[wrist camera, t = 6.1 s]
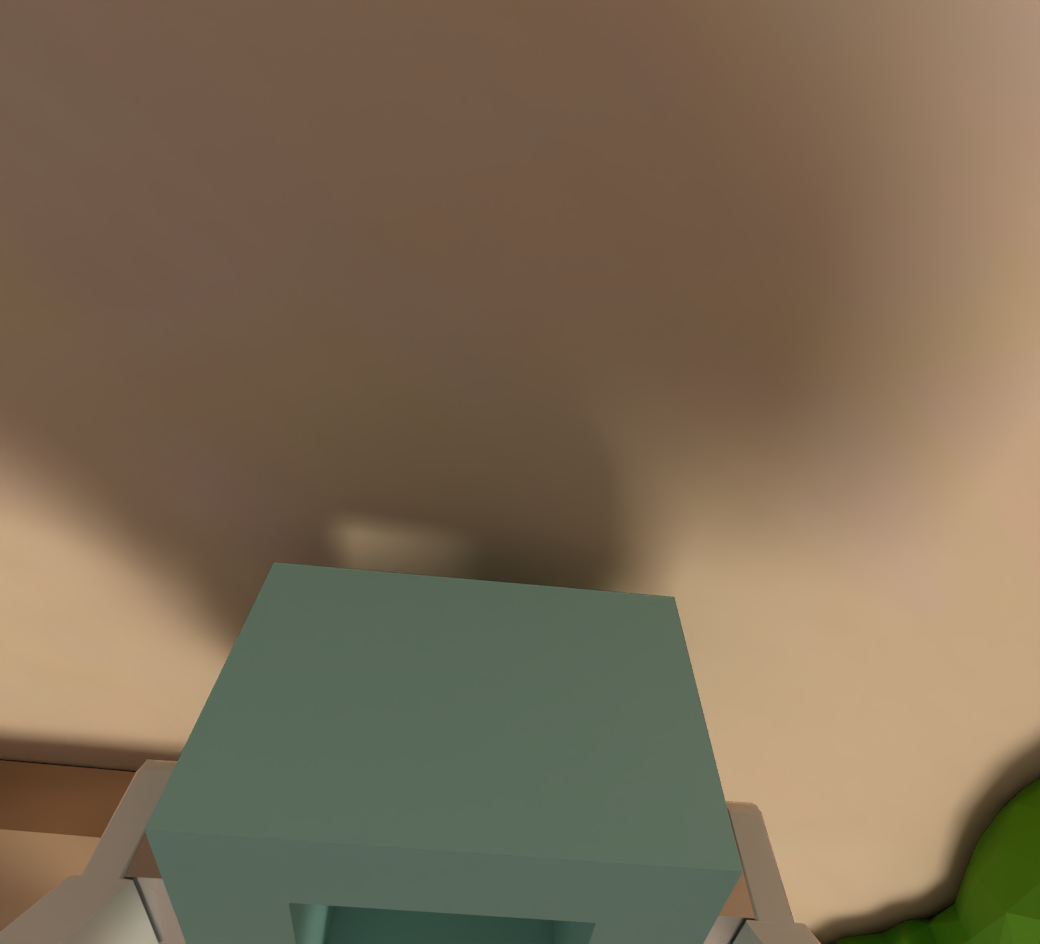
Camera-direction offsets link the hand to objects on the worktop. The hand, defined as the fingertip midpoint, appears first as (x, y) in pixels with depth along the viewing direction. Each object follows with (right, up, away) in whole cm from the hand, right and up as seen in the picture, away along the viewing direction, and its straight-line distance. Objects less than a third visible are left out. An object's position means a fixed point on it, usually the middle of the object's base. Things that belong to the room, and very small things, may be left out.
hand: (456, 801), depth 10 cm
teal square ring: (0, +1, +1) cm, 2 cm away
